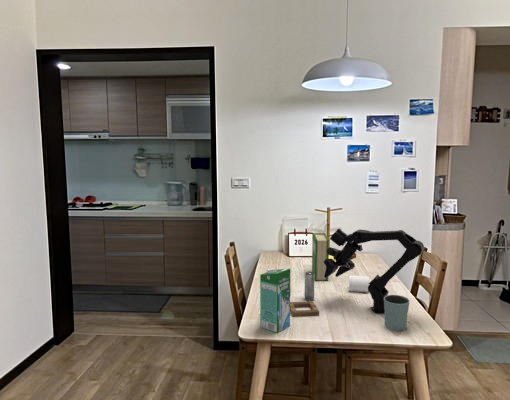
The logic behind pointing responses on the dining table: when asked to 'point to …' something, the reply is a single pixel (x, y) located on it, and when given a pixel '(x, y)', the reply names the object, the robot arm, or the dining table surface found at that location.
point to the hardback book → (319, 255)
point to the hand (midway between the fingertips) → (330, 276)
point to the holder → (297, 313)
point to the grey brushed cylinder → (309, 286)
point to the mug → (358, 283)
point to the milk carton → (275, 299)
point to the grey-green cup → (396, 312)
